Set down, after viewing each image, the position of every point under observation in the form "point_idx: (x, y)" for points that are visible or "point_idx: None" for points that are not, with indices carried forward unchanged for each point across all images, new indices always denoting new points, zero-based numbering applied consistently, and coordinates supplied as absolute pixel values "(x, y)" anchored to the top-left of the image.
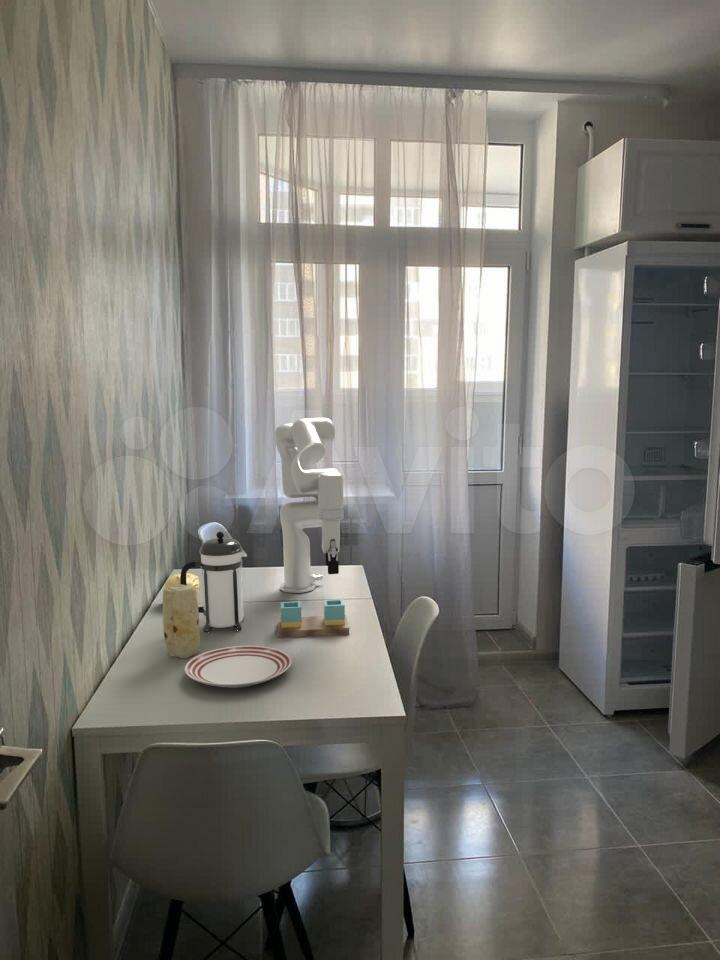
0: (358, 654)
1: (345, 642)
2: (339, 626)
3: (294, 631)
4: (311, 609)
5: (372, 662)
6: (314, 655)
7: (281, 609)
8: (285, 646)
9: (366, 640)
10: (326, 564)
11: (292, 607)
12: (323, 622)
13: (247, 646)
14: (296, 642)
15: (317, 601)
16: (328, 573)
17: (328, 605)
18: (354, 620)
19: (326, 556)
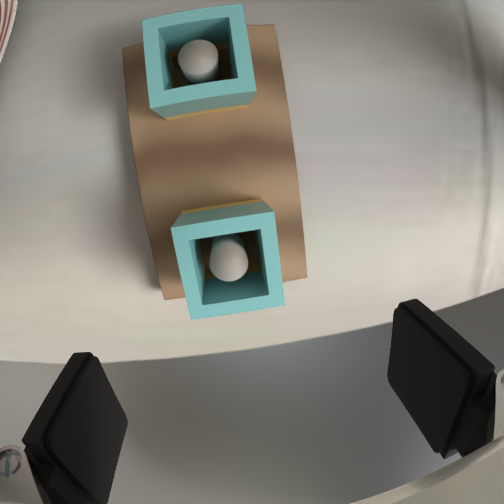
0: (32, 317)
1: (98, 282)
2: (173, 266)
3: (127, 102)
4: (420, 144)
5: (7, 343)
6: (6, 204)
7: (142, 24)
8: (58, 100)
9: (123, 339)
10: (398, 311)
11: (150, 66)
12: (218, 200)
13: (11, 19)
14: (86, 124)
15: (477, 166)
16: (76, 356)
17: (183, 246)
18: (305, 296)
19: (445, 360)
